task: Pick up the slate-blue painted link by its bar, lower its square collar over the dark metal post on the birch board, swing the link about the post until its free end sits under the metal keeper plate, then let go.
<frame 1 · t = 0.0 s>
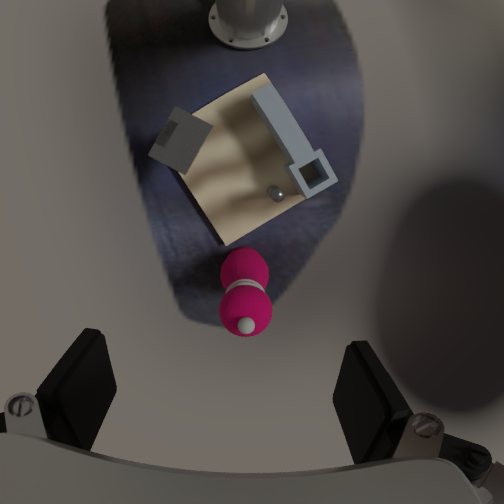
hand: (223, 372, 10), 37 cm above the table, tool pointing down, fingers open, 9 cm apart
keeper: (196, 147, 43), resting on base board
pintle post: (272, 190, 45), resting on base board
link: (259, 96, 40), point 1 cm above the table, touching base board
pepper mill: (244, 264, 49), on the table
base board: (244, 157, 44), on the table
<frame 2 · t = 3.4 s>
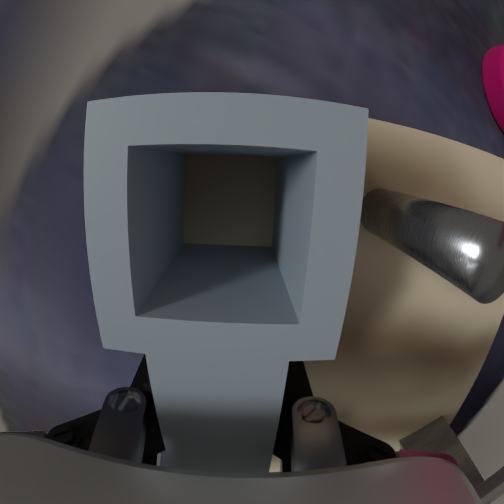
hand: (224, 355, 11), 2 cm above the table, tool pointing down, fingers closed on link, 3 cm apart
keeper: (413, 401, 15), resting on base board
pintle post: (367, 206, 12), resting on base board
link: (225, 448, 14), point 1 cm above the table, touching base board, gripper
base board: (362, 340, 14), on the table
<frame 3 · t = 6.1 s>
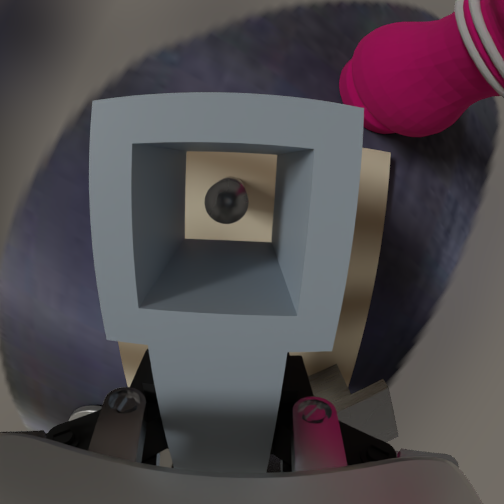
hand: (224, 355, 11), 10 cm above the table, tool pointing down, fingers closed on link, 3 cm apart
keeper: (305, 347, 23), resting on base board
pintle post: (231, 189, 19), resting on base board
link: (225, 442, 15), point 9 cm above the table, touching gripper
pepper mill: (377, 93, 18), on the table
base board: (241, 283, 21), on the table
when the fingers open (3 cm above the table, at t = 8.7 s): link stays where it is, resting on base board.
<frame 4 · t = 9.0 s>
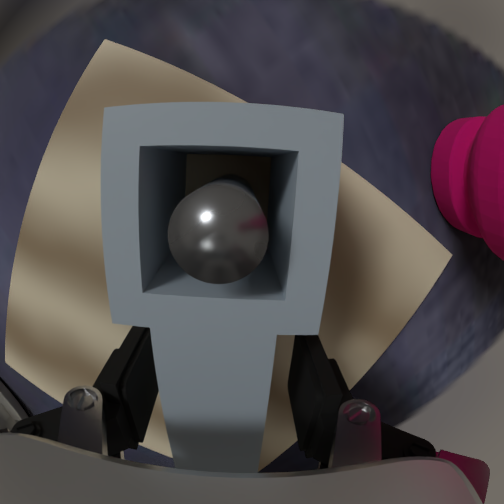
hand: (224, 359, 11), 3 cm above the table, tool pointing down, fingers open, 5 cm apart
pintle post: (231, 194, 12), resting on base board
link: (222, 435, 15), point 1 cm above the table, touching base board
pepper mill: (468, 174, 13), on the table
base board: (182, 322, 14), on the table
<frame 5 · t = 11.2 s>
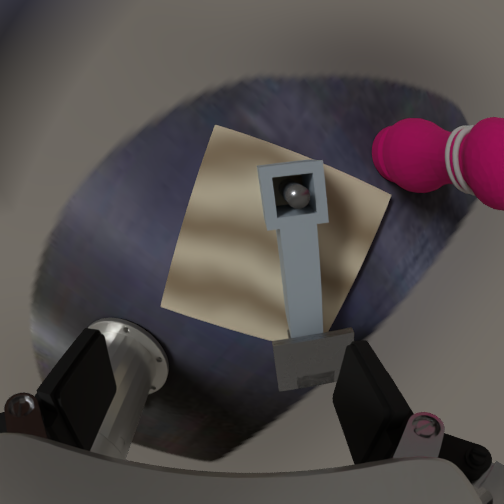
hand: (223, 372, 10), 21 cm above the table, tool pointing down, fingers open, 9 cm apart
keeper: (299, 307, 33), resting on base board
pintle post: (286, 186, 29), resting on base board
link: (299, 312, 32), point 1 cm above the table, touching base board
pepper mill: (395, 154, 28), on the table
base board: (272, 249, 31), on the table
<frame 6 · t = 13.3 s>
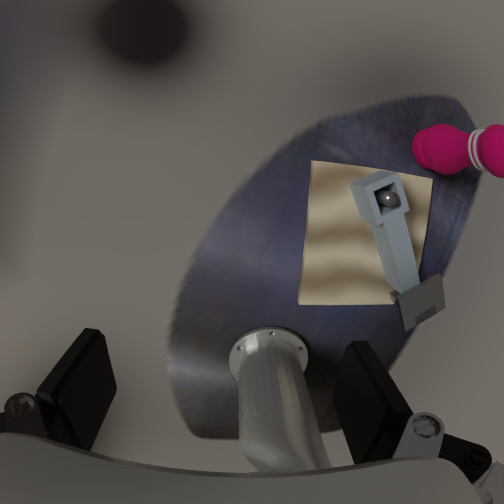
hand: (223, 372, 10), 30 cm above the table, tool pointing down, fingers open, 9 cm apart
keeper: (392, 274, 43), resting on base board
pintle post: (367, 192, 39), resting on base board
link: (394, 277, 41), point 1 cm above the table, touching base board
pepper mill: (427, 149, 37), on the table
base board: (368, 238, 41), on the table
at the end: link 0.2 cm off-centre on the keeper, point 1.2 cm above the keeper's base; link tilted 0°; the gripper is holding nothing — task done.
